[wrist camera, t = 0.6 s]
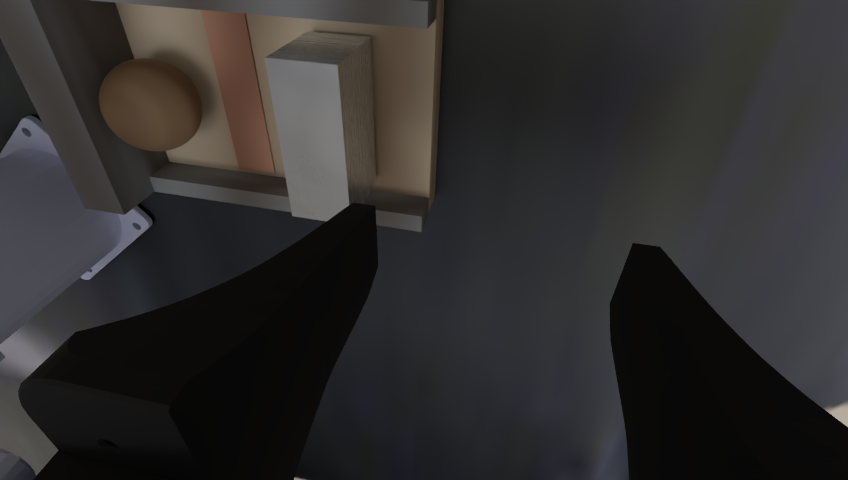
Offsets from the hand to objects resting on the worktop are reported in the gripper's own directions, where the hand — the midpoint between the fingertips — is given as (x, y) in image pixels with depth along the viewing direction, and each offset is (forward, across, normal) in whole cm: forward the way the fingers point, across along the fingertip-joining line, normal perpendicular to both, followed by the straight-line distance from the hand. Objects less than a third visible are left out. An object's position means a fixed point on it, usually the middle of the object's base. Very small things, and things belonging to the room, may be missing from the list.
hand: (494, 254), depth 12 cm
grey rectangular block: (+8, +7, 0) cm, 10 cm away
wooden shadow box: (+9, +11, 0) cm, 14 cm away
